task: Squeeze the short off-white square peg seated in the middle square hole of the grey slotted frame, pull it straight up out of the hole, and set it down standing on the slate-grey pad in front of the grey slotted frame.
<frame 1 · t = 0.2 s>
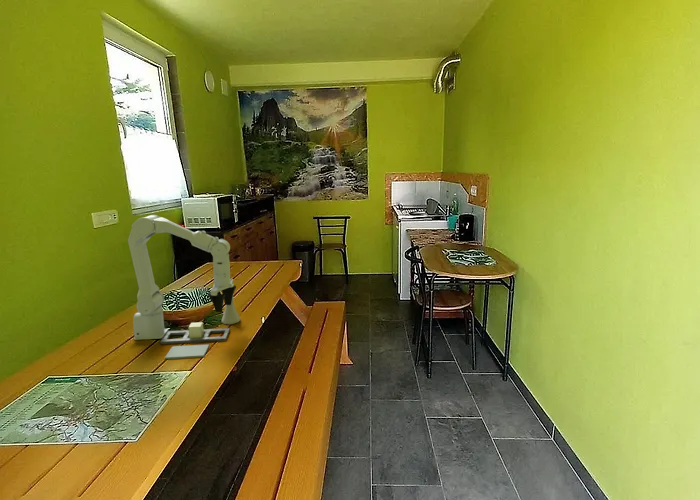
hand: (223, 308, 139), 10 cm above the table, tool pointing down, fingers open, 7 cm apart
pad: (187, 352, 125), on the table
flask: (231, 321, 152), on the table
grey slotted frame: (196, 337, 137), on the table
peg: (196, 331, 136), in the grey slotted frame
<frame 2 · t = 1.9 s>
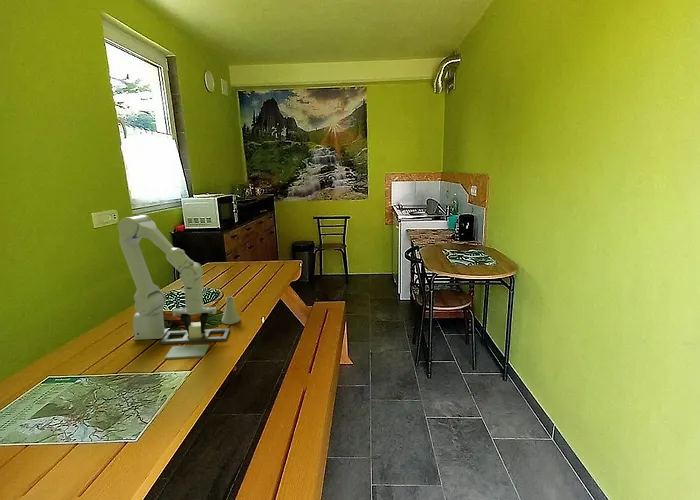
hand: (196, 332, 136), 2 cm above the table, tool pointing down, fingers closed on peg, 4 cm apart
peg: (196, 330, 136), in the grey slotted frame, touching gripper
everything else where it was.
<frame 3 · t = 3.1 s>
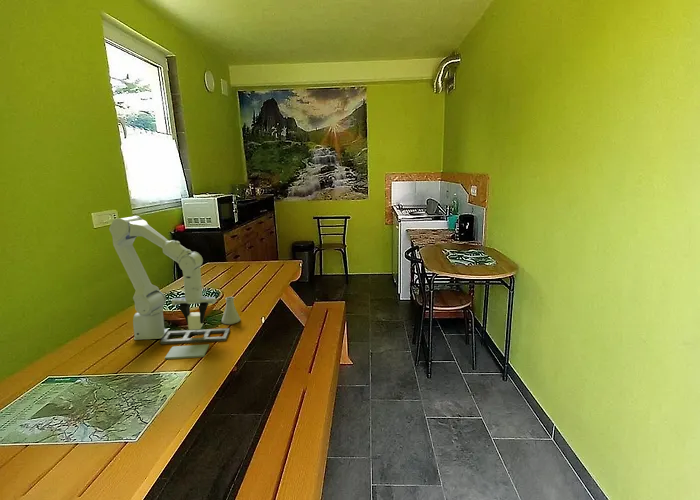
hand: (195, 322, 136), 6 cm above the table, tool pointing down, fingers closed on peg, 4 cm apart
peg: (195, 320, 136), point 6 cm above the table, touching gripper
everything else where it was.
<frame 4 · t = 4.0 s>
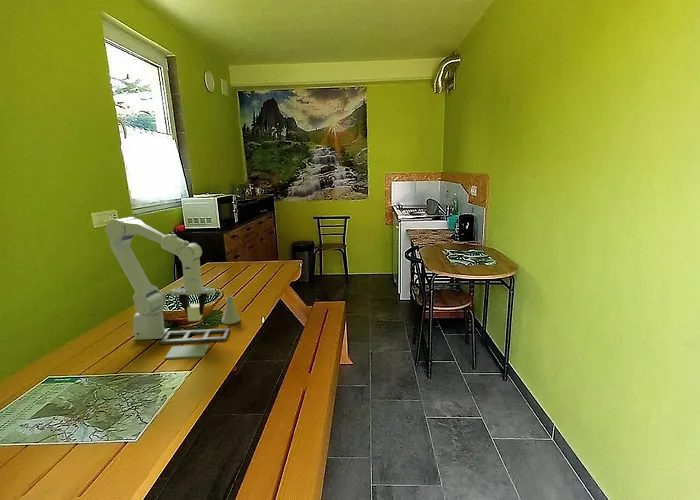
hand: (194, 314, 135), 9 cm above the table, tool pointing down, fingers closed on peg, 4 cm apart
peg: (194, 312, 135), point 10 cm above the table, touching gripper
everything else where it was.
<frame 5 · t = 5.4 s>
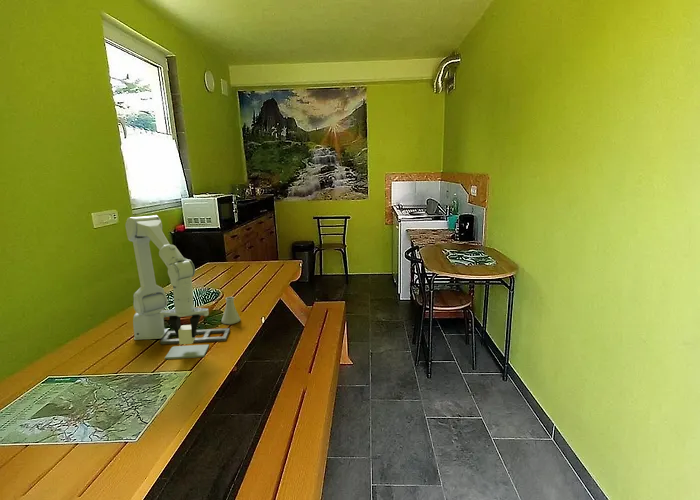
hand: (186, 336, 124), 6 cm above the table, tool pointing down, fingers closed on peg, 4 cm apart
peg: (186, 334, 124), point 6 cm above the table, touching gripper
everything else where it was.
when the fingers open (3 cm above the table, at t = 6.2 s): peg stays where it is, resting on pad.
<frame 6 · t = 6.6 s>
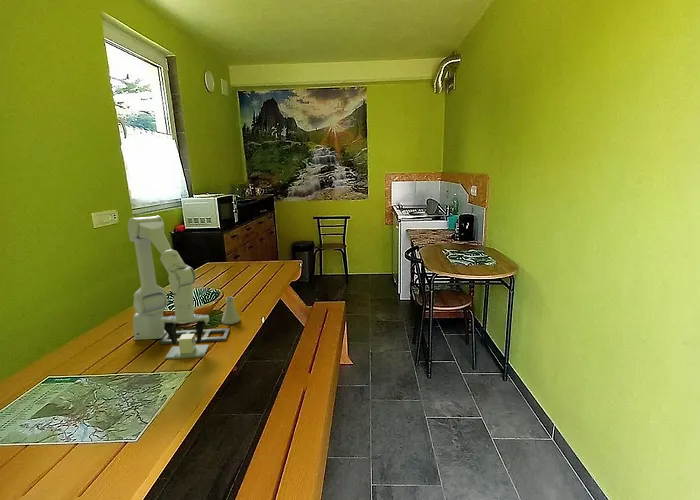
hand: (187, 343, 125), 3 cm above the table, tool pointing down, fingers open, 7 cm apart
peg: (187, 343, 125), on the pad, point 3 cm above the table
everything else where it was.
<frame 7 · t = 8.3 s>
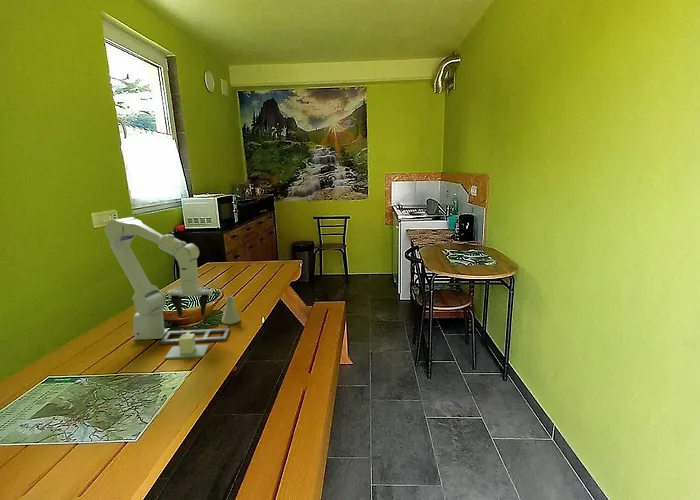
hand: (191, 315, 134), 9 cm above the table, tool pointing down, fingers open, 7 cm apart
nothing on the table moved.
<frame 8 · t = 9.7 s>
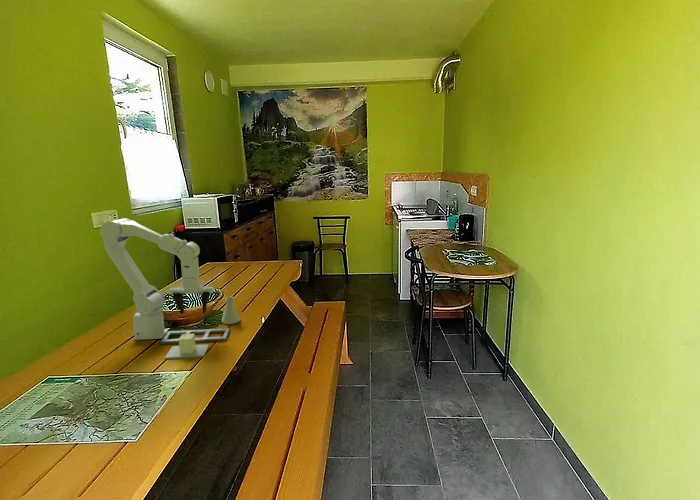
hand: (193, 312, 137), 9 cm above the table, tool pointing down, fingers open, 7 cm apart
nothing on the table moved.
at the end: peg inside the target area on the pad (0.3 cm from its centre), point 3.1 cm above the pad's base; peg tilted 0°; the gripper is holding nothing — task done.
